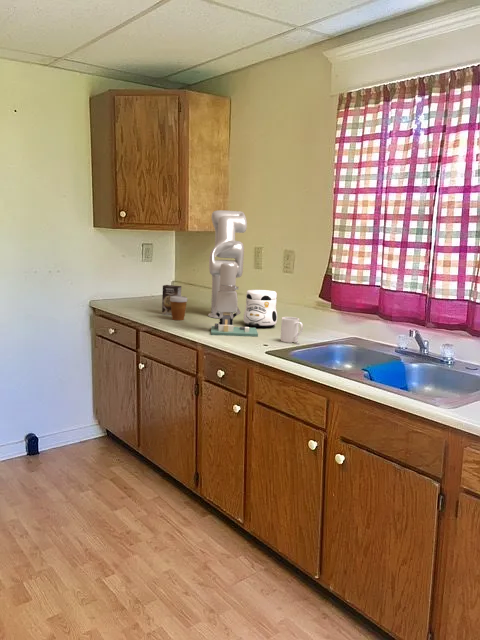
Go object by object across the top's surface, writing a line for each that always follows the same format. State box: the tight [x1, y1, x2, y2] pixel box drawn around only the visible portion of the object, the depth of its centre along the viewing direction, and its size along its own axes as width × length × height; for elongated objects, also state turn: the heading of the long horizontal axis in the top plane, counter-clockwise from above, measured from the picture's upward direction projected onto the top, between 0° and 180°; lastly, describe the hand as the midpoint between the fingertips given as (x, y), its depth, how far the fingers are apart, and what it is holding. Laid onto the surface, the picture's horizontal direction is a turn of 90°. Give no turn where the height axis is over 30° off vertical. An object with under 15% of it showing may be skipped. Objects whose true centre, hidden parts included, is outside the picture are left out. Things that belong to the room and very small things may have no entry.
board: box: [210, 321, 259, 338], centre depth 271 cm, size 16×22×4 cm
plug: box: [222, 312, 231, 325], centre depth 269 cm, size 6×4×7 cm, turn 2°
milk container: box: [243, 289, 278, 328], centre depth 290 cm, size 17×17×18 cm
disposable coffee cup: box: [170, 295, 188, 321], centre depth 298 cm, size 10×10×12 cm
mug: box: [280, 316, 304, 344], centre depth 254 cm, size 12×8×10 cm, turn 35°
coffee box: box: [161, 284, 182, 316], centre depth 313 cm, size 9×6×16 cm
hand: (225, 326), depth 270 cm, fingers closed on plug, 3 cm apart
